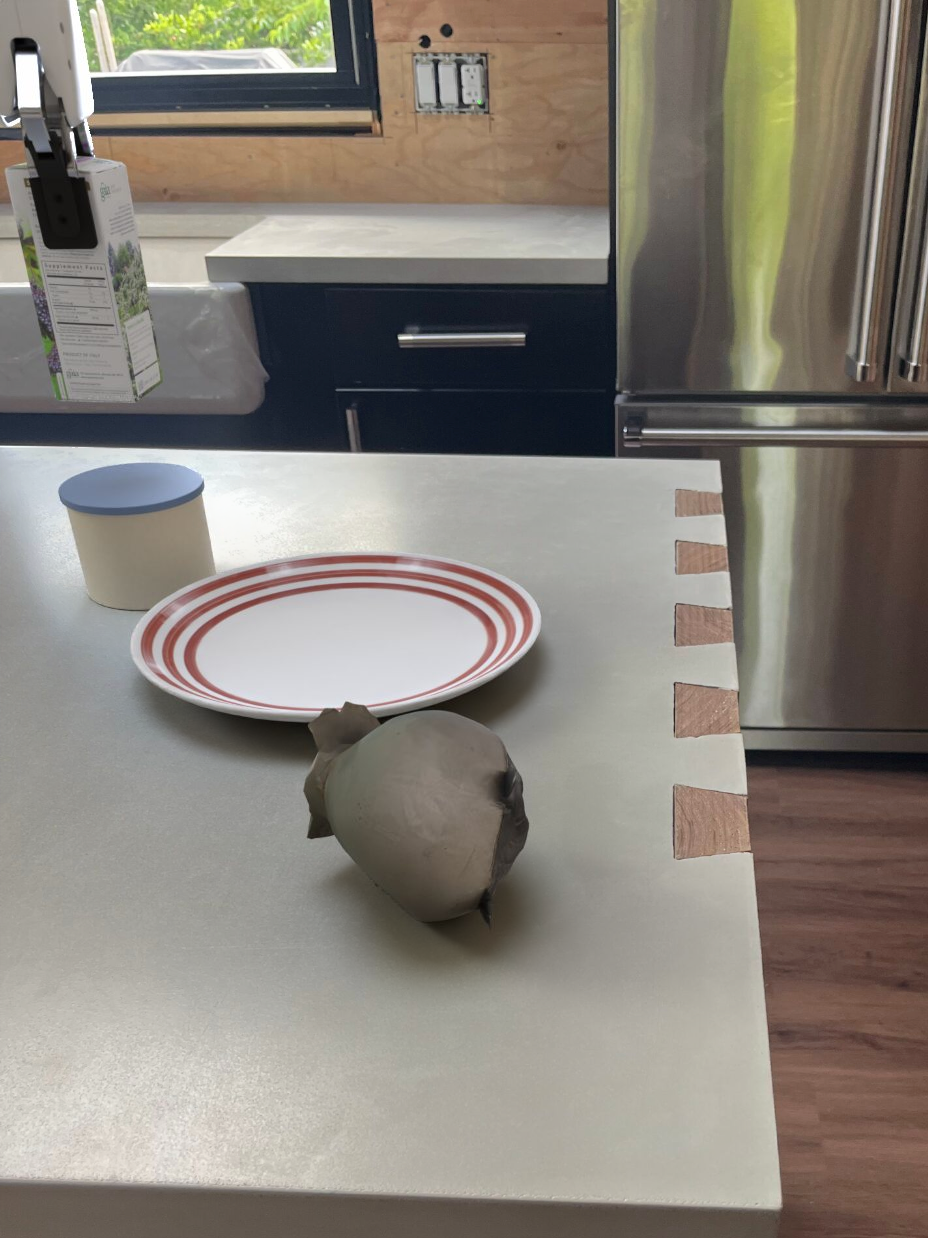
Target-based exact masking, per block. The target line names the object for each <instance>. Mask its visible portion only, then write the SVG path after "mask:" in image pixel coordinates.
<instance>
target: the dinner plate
mask: <svg viewBox="0 0 928 1238" xmlns="http://www.w3.org/2000/svg"><path fill="white" fill-rule="evenodd" d="M541 627H542V614H541V611H540V607H539V605H538V603H537V602H536V600H535V599H534V598H533V596H532V595H531V594H530V593H529V592H528V591H527V590H526V589H524V588H523V587H522V586H521V585H519V584H518V583H517V582H515V581H513V580H511V579H509V578H508V577H506V576H505V575H503V574H500V573H498V572H495V571H493V570H491V569H488V568H485V567H482V566H479V565H476V564H473V563H471V562H470V563H469V562H466V561H462V560H459V559H453V558H449V557H445V556H438V555H433V554H423V553H414V552H405V551H404V552H403V551H387V550H386V551H384V550H383V551H381V550H380V551H379V550H375V551H374V550H350V551H349V550H348V551H347V550H346V551H332V552H319V553H309V554H301V555H300V554H299V555H295V556H288V557H282V558H276V559H275V558H274V559H271V560H265V561H261V562H257V563H252V564H248V565H244V566H240V567H236V568H232V569H229V570H225V571H223V572H219V573H216V575H213V576H210V577H208V578H205V579H202V580H200V581H197V582H195V583H193V584H190V585H188V586H186V587H184V588H182V589H180V590H178V591H176V592H175V593H173V594H171V595H170V596H168V597H166V598H165V599H163V600H162V601H160V602H159V603H158V604H156V605H155V606H154V607H153V608H151V609H148V611H147V612H145V614H144V615H143V616H142V617H141V619H140V620H139V621H138V623H137V624H136V626H135V628H134V629H133V631H132V634H131V637H130V642H129V651H130V656H131V659H132V662H133V664H134V666H135V667H136V669H137V670H138V671H139V672H140V673H141V675H142V676H143V677H144V678H145V679H146V680H148V681H149V682H150V683H151V684H152V685H154V686H156V687H157V688H158V689H159V690H162V691H163V692H166V693H168V694H169V695H171V696H173V697H175V698H178V699H180V700H182V701H185V702H188V703H190V704H193V705H195V706H198V707H202V708H205V709H209V710H213V711H216V712H219V713H224V714H229V715H233V716H240V717H247V718H251V719H256V720H257V719H258V720H267V721H276V722H290V723H291V722H293V723H310V722H312V721H313V720H314V719H316V718H317V717H319V715H320V714H321V712H322V711H323V710H324V708H335V709H337V710H338V711H339V712H340V710H341V709H342V707H343V705H344V703H345V701H347V702H350V703H353V704H360V705H365V706H366V708H367V709H368V711H369V712H370V713H371V714H372V715H373V716H376V718H377V719H378V718H384V717H388V716H393V715H399V714H403V713H408V712H411V711H416V710H420V709H424V708H427V707H430V706H433V705H437V704H439V703H443V702H446V701H448V700H451V699H454V698H457V697H459V696H461V695H464V694H466V693H469V692H471V691H472V690H474V689H477V688H479V687H481V686H483V685H484V684H486V683H488V682H490V681H492V680H494V679H496V678H497V677H499V676H500V675H501V674H503V673H505V672H506V671H508V670H509V669H510V668H512V667H513V666H514V665H515V664H516V663H517V662H519V661H520V660H521V659H522V658H523V657H525V655H526V654H527V653H528V652H529V651H530V650H531V649H532V648H533V646H534V645H535V643H536V641H537V640H538V638H539V636H540V632H541Z"/></svg>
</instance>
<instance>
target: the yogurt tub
mask: <svg viewBox="0 0 928 1238" xmlns="http://www.w3.org/2000/svg"><path fill="white" fill-rule="evenodd" d="M205 486H206V485H205V480H204V477H203V475H202V474H201V473H200V472H199V471H197V470H195V469H194V468H191V467H188V466H184V465H181V464H174V463H169V462H168V463H165V462H130V463H118V464H113V465H107V466H102V467H97V468H93V469H89V470H86V471H83V472H80V473H77V474H76V475H73V476H71V477H69V478H67V479H66V480H64V481H63V482H62V483H61V484H60V485H59V487H58V491H57V494H58V497H59V501H60V502H61V504H62V505H63V506H65V508H66V512H67V515H68V519H69V524H70V527H71V532H72V535H73V539H74V543H75V547H76V551H77V555H78V559H79V563H80V567H81V572H82V576H83V579H84V583H85V588H86V592H87V595H88V597H89V598H90V600H92V601H93V602H95V603H97V604H98V605H101V606H104V607H107V608H110V609H111V608H112V609H117V610H126V611H128V610H129V611H145V610H146V611H147V610H148V611H149V610H150V609H151V608H153V607H154V606H155V605H156V604H158V603H159V602H160V601H162V600H163V599H165V598H166V597H168V596H170V595H171V594H173V593H175V592H176V591H178V590H180V589H182V588H184V587H186V586H188V585H190V584H193V583H195V582H197V581H200V580H202V579H205V578H208V577H210V576H213V575H216V574H217V568H216V564H215V559H214V553H213V548H212V541H211V535H210V531H209V526H208V520H207V515H206V509H205V502H204V498H203V492H204V490H205Z"/></svg>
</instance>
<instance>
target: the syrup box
mask: <svg viewBox="0 0 928 1238" xmlns="http://www.w3.org/2000/svg"><path fill="white" fill-rule="evenodd" d="M76 158H77V165H78V172H79V177H85V181H86V185H87V190H88V195H89V200H90V205H91V210H92V215H93V219H94V224H95V229H96V234H97V239H98V245H97V246H96V248H94V249H54V250H52V249H48V248H47V247H45V245H44V243H43V239H42V234H41V230H40V226H39V221H38V217H37V213H36V208H35V204H34V200H33V195H32V191H31V187H30V182H29V178H30V175H29V172H28V168H27V162H26V161H25V162H23V163H18V164H14V165H10V166H6V167H5V168H4V175H5V179H6V184H7V188H8V192H9V198H10V202H11V207H12V211H13V215H14V220H15V224H16V228H17V232H18V238H19V242H20V246H21V247H20V248H21V251H22V256H23V261H24V264H25V269H26V273H27V278H28V283H29V287H30V292H31V295H32V300H33V304H34V309H35V313H36V317H37V322H38V327H39V331H40V335H41V340H42V346H43V349H44V355H45V358H46V362H47V368H48V372H49V375H50V380H51V385H52V389H53V395H54V398H55V399H56V400H57V401H60V402H77V403H78V402H82V403H83V402H84V403H127V404H135V403H138V401H140V400H141V399H142V398H144V397H145V396H146V395H148V394H149V393H151V392H152V391H153V390H154V389H156V388H157V387H159V386H160V385H161V384H163V381H164V376H163V371H162V364H161V360H160V359H161V358H160V354H159V348H158V341H157V336H156V331H155V325H154V320H153V311H152V306H151V301H150V296H149V290H148V289H149V288H148V283H147V278H146V277H147V276H146V272H145V266H144V261H143V254H142V249H141V243H140V239H139V233H138V227H137V221H136V215H135V212H134V211H135V210H134V204H133V199H132V193H131V188H130V182H129V175H128V169H127V165H126V164H124V162H123V161H117V160H112V159H106V158H101V157H95V158H94V157H82V156H76Z"/></svg>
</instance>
